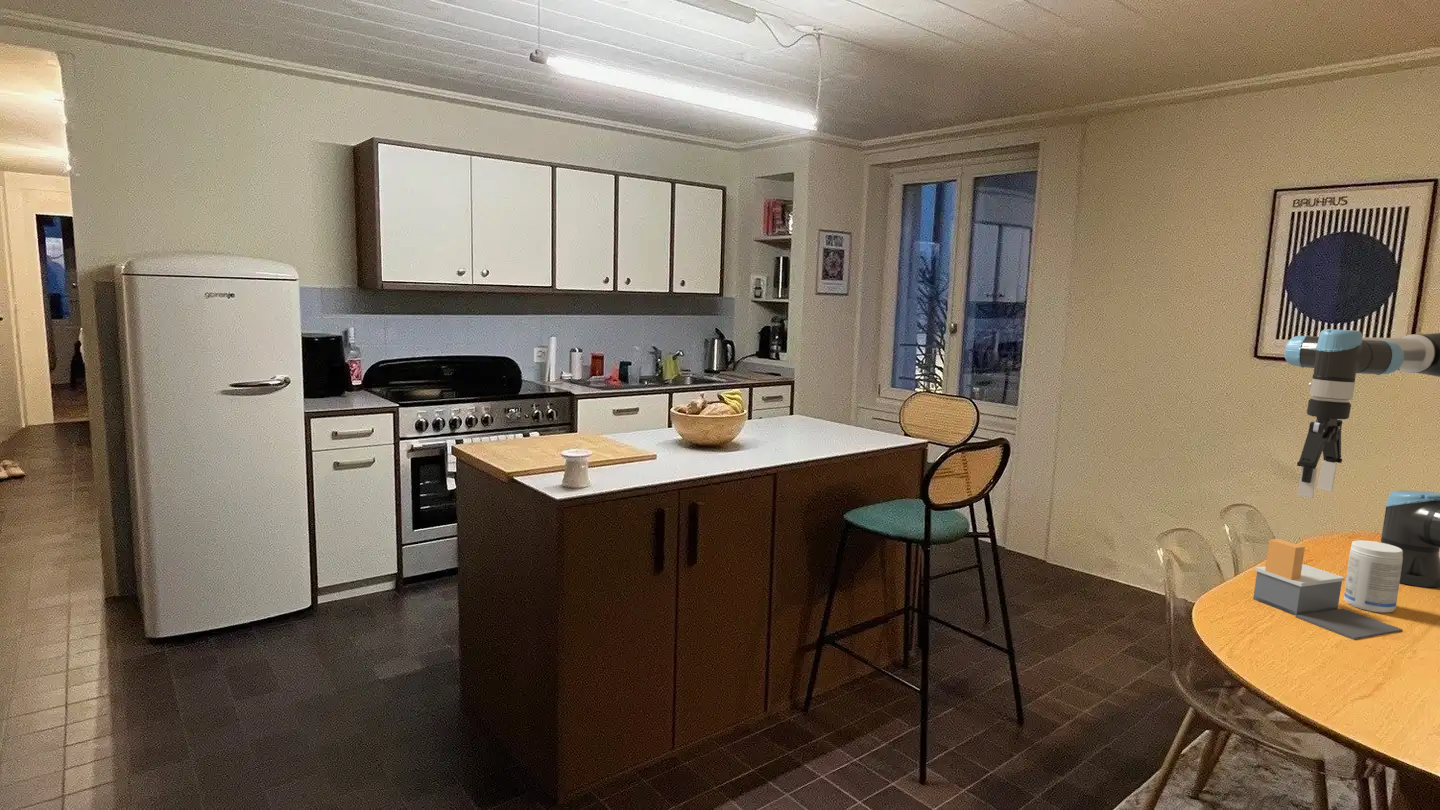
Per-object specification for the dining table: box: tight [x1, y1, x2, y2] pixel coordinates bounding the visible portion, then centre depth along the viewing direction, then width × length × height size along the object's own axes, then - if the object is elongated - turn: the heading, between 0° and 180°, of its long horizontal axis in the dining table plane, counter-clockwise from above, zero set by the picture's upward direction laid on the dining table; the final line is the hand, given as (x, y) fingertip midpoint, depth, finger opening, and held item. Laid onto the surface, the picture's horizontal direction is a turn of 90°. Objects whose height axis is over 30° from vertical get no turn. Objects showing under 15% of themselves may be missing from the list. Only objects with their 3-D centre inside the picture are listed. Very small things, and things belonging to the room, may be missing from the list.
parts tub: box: [1252, 571, 1343, 616], centre depth 185 cm, size 14×10×7 cm
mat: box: [1294, 607, 1403, 640], centre depth 175 cm, size 16×12×1 cm
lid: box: [1254, 538, 1346, 587], centre depth 184 cm, size 15×11×8 cm
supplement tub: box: [1343, 539, 1403, 614], centre depth 185 cm, size 10×10×15 cm
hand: (1315, 493), depth 177 cm, fingers open, 13 cm apart
